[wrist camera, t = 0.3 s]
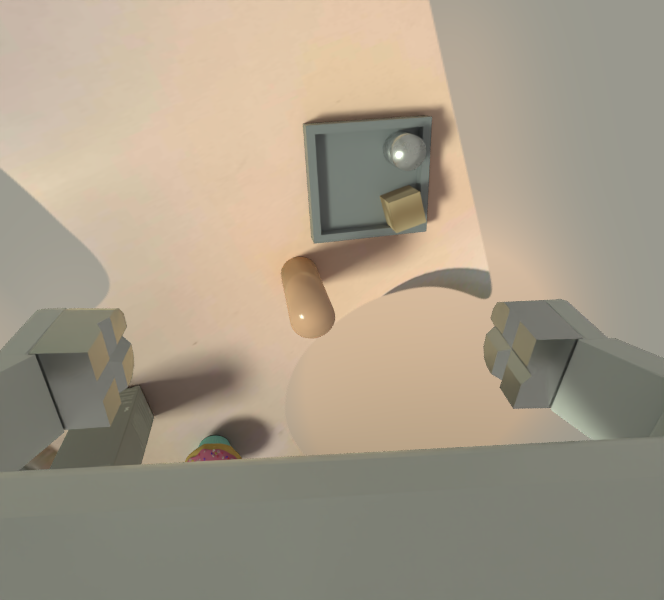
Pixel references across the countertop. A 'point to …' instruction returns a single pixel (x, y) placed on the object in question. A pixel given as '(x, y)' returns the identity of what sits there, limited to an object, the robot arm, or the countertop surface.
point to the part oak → (403, 208)
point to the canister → (306, 298)
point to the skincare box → (110, 437)
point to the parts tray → (358, 176)
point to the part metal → (404, 150)
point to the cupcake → (213, 450)
